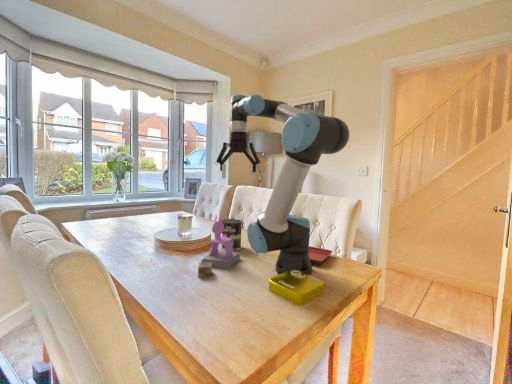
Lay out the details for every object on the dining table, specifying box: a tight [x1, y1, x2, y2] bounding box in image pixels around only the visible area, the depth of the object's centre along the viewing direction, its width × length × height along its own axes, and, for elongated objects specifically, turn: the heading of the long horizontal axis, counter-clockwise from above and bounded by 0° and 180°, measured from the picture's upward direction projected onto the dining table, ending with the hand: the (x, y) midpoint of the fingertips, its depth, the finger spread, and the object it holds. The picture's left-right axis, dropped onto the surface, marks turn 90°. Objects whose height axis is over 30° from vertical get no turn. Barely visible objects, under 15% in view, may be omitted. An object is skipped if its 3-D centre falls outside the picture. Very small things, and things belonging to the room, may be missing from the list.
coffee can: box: [221, 218, 243, 252], centre depth 139 cm, size 10×10×14 cm
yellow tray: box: [268, 269, 326, 306], centre depth 94 cm, size 15×15×5 cm
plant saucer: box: [309, 245, 333, 267], centre depth 128 cm, size 18×18×3 cm
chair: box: [208, 220, 233, 259], centre depth 118 cm, size 8×9×15 cm
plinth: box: [200, 249, 241, 270], centre depth 119 cm, size 13×13×3 cm
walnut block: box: [197, 262, 213, 278], centre depth 106 cm, size 5×5×4 cm
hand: (237, 179), depth 123 cm, fingers open, 13 cm apart
